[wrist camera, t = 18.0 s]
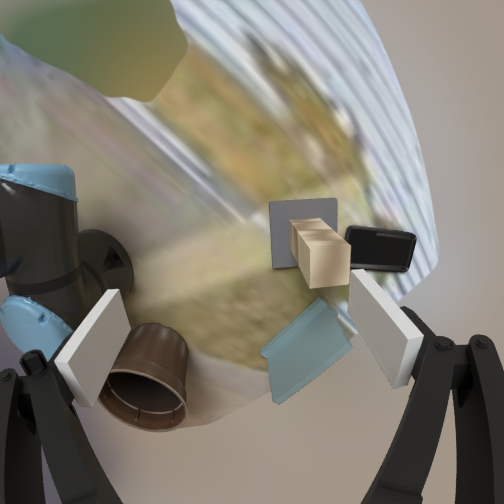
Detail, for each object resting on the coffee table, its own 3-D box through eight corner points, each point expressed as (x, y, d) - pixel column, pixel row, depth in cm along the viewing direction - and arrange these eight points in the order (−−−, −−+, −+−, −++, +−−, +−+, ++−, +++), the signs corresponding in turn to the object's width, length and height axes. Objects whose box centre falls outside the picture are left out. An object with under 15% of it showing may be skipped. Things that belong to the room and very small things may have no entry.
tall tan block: (290, 251, 48) (309, 290, 34) (289, 220, 46) (310, 249, 33) (319, 248, 48) (348, 285, 35) (319, 218, 46) (350, 245, 33)
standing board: (259, 349, 55) (265, 397, 43) (319, 295, 52) (340, 337, 40) (277, 361, 57) (286, 408, 45) (335, 310, 53) (359, 352, 41)
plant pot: (156, 384, 58) (141, 439, 43) (106, 334, 53) (76, 386, 38) (213, 357, 56) (208, 419, 41) (161, 299, 51) (136, 355, 36)
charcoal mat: (272, 266, 49) (272, 268, 49) (268, 201, 46) (269, 202, 45) (334, 260, 50) (336, 262, 49) (335, 197, 46) (337, 198, 45)
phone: (407, 272, 51) (339, 268, 49) (405, 270, 52) (337, 265, 51) (418, 234, 48) (348, 224, 47) (415, 232, 49) (346, 223, 48)
